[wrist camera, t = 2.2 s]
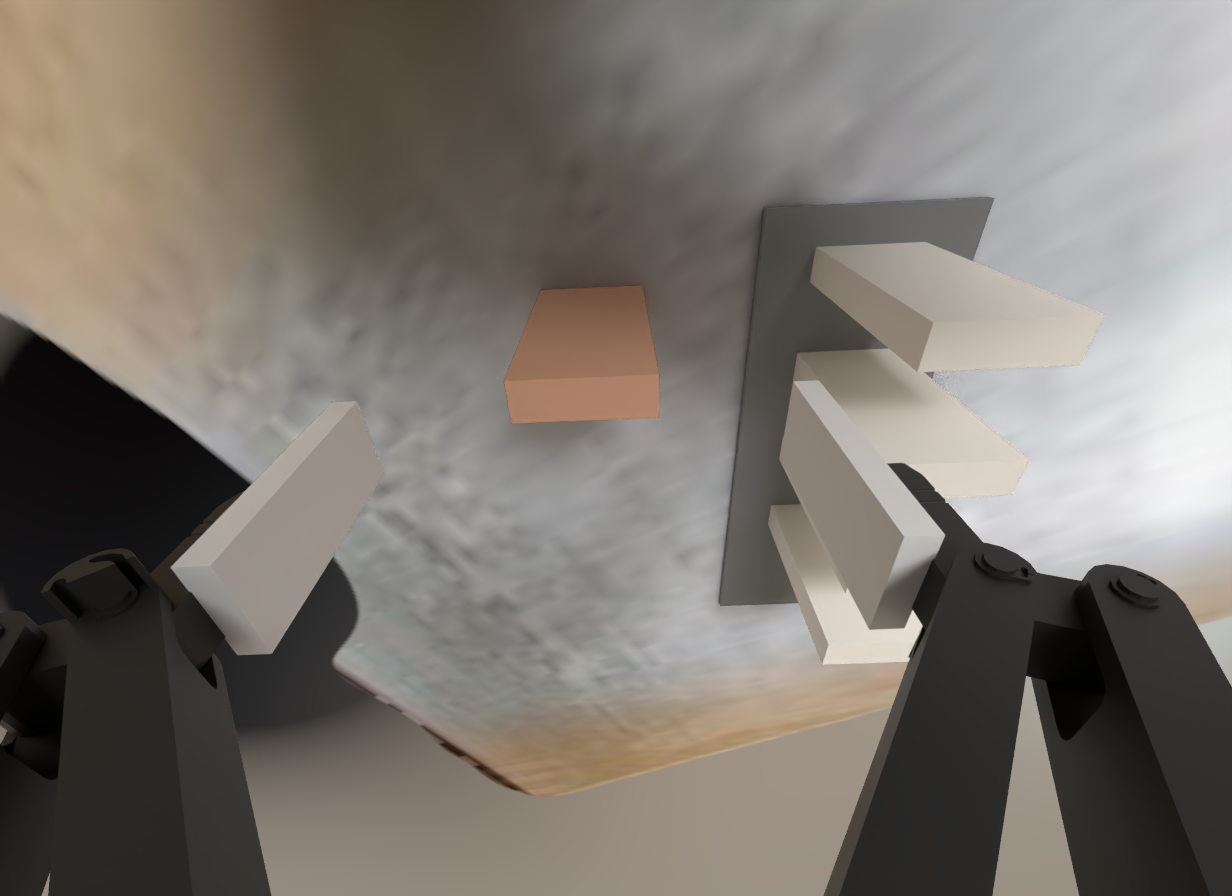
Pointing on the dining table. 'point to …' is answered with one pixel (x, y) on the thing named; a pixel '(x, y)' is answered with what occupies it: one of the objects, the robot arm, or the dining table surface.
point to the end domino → (585, 358)
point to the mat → (808, 323)
